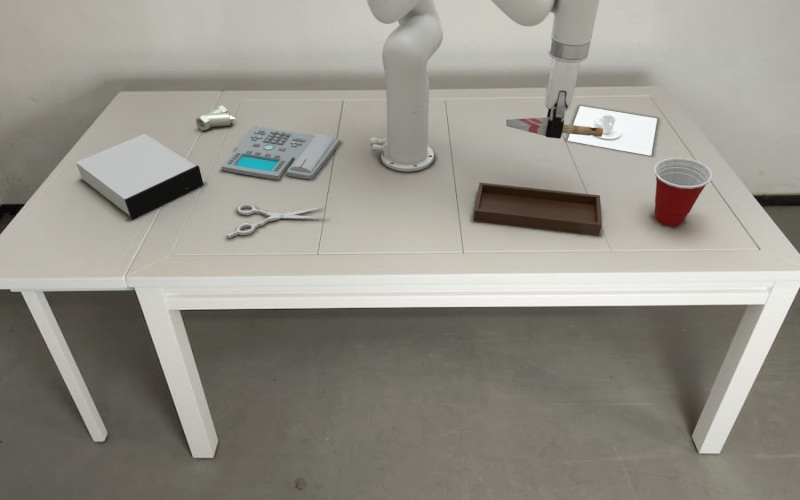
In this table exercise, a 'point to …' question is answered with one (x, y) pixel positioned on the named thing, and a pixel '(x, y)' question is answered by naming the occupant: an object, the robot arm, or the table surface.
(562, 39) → the robot arm
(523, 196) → the tray
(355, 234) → the table surface
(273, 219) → the scissors
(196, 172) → the disc drive
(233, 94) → the table surface
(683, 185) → the plastic cup
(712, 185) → the table surface
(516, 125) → the paintbrush
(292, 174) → the office telephone
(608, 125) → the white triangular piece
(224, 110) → the pipe fitting
